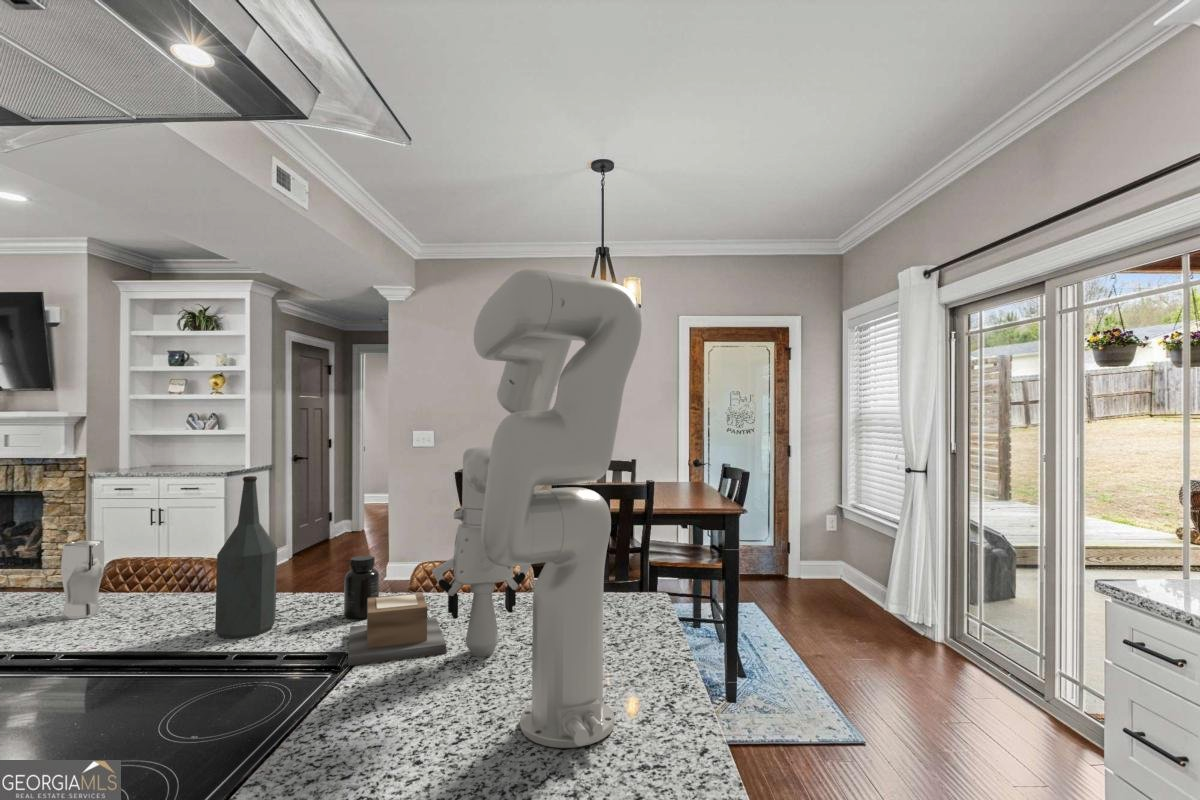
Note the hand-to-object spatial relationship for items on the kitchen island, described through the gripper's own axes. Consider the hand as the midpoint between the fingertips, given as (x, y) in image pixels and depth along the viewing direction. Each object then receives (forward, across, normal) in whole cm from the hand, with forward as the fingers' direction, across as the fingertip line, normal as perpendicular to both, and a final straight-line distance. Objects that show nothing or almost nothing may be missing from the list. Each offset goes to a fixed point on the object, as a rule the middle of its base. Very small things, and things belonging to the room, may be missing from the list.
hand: (482, 613), depth 108 cm
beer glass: (+8, -75, +51) cm, 91 cm away
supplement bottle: (+7, -20, +30) cm, 36 cm away
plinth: (+7, -14, +10) cm, 18 cm away
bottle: (+7, -41, +28) cm, 50 cm away
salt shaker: (+7, 0, 0) cm, 7 cm away
